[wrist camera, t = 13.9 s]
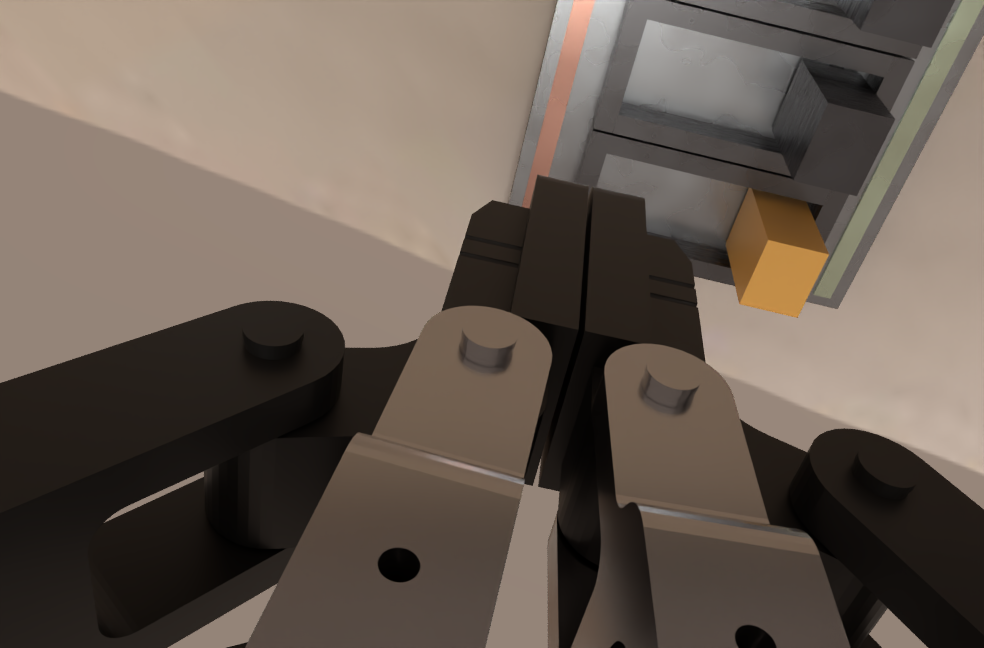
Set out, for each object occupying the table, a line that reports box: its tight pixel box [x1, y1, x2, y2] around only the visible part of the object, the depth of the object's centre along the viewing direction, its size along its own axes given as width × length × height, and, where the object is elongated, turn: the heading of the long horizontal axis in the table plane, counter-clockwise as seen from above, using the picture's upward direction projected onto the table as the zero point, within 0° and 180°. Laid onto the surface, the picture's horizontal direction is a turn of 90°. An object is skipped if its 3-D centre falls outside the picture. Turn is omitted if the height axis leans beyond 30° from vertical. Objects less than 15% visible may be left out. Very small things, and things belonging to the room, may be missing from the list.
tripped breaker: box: [726, 188, 829, 318], centre depth 35 cm, size 2×3×5 cm
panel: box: [509, 0, 984, 309], centre depth 33 cm, size 16×18×7 cm
